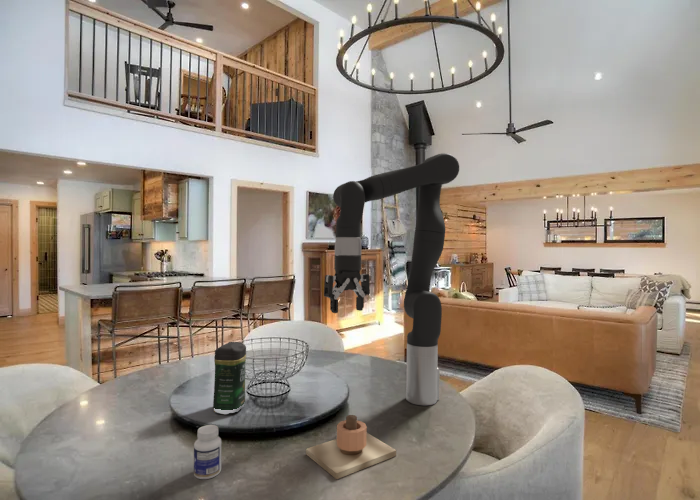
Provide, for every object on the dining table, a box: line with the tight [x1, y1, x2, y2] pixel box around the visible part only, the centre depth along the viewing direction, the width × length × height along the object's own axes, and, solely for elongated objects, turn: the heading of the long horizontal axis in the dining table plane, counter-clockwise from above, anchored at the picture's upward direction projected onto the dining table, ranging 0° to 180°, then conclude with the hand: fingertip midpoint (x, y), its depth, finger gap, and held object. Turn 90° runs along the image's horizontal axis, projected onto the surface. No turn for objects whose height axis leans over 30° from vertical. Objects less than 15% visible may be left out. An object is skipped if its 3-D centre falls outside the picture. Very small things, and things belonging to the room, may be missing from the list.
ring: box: [336, 419, 368, 451], centre depth 89 cm, size 6×6×4 cm
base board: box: [305, 432, 397, 480], centre depth 89 cm, size 16×12×1 cm
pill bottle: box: [193, 424, 223, 480], centre depth 82 cm, size 5×5×9 cm
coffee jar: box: [212, 341, 247, 410], centre depth 114 cm, size 10×8×19 cm
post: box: [340, 414, 362, 455], centre depth 89 cm, size 5×5×7 cm
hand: (347, 311), depth 113 cm, fingers open, 8 cm apart
